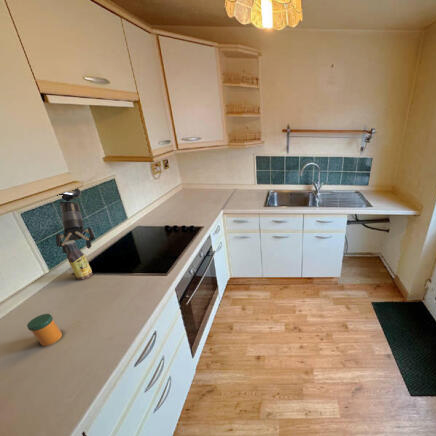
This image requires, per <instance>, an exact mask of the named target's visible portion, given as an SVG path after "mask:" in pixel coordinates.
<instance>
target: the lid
mask: <svg viewBox="0 0 436 436" xmlns="http://www.w3.org/2000/svg"><path fill="white" fill-rule="evenodd" d="M52 320H54V318H53V316H52V315H51V314H50V313H43V314H40V315H38V316H36V317H33V318H32V319H31V320H29V321H28V323H27V325H26V327H27V329H28V330H29V331H30V332H32V331H36V330H39V329H42V328H44V327H46V326H47V325H48V324H50V323H51V321H52Z"/></svg>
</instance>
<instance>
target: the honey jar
mask: <svg viewBox="0 0 436 436" xmlns="http://www.w3.org/2000/svg"><path fill="white" fill-rule="evenodd" d="M31 333H32V334H33V336H34V337H35V339H36V340H37V341H38V342H39V343H40V345H41V346H42V347H47V346H50V345H53V344H55V343H56V342H58V341H59V340H60V339H61V337H62V336H63V333H62V331H61V330H60V328H59V326H58V325H57V324H56V322H55V320H54V319H53V320H52V321H51V323H50V324H48V325H47V326H46V327H44V328H42V329H39V330H36V331H31Z"/></svg>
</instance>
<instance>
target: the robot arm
mask: <svg viewBox="0 0 436 436" xmlns="http://www.w3.org/2000/svg"><path fill="white" fill-rule="evenodd" d="M59 195H63V196H62V198H63V199H64V200H66V201H71V202H60V205H59V207H60V209H61V221H62V227H63V233H62V234H55V243H56V244H55V245H56V246H57V247H59V248H62V252H63V254H66V255H68V251H67V248H66V247H65V246H64V243H65V242H67V241H71V240H74V241H75V242H76V241H78V240H79V241H80V240H82V239H83V240H84V241H85V245H86V248H87V249H91V248H92V241H94V240H96V238H95V233H94V230H93V229H92V228H91V227H88V228H87V229H85V226H84V219H83V216H82V214H81V213H82V212H81V208H80V204H78V203H77V202H76V201H74V200H76V199H78V198H80V197H81V196H82V191H81V190H80V189H79V187H77V189H75V190H72V191H68V192H65V193H62V194H59ZM57 196H58V195H57ZM86 233H87V234H89V237H87V236H86ZM63 238H64V240H63Z"/></svg>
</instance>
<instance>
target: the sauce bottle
mask: <svg viewBox="0 0 436 436" xmlns="http://www.w3.org/2000/svg"><path fill="white" fill-rule="evenodd" d="M64 246H65V247H66V248H67V251H68V254H66V258H67V261H68V263H69V265H70V267H71V269H72V272H73V273H74V276H75V277H76V279H77V280H78V281H79V280H86V279H88V278H90V277H91V276H92V275H93V270H92V267H91V266H90V263H89V261H88V259H87V257H86V254H85V253H84V252H83V251H81V249H79V247H78V245H77V242H76V240H75V241H74V240H71V241H67V242H65V243H64Z"/></svg>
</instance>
